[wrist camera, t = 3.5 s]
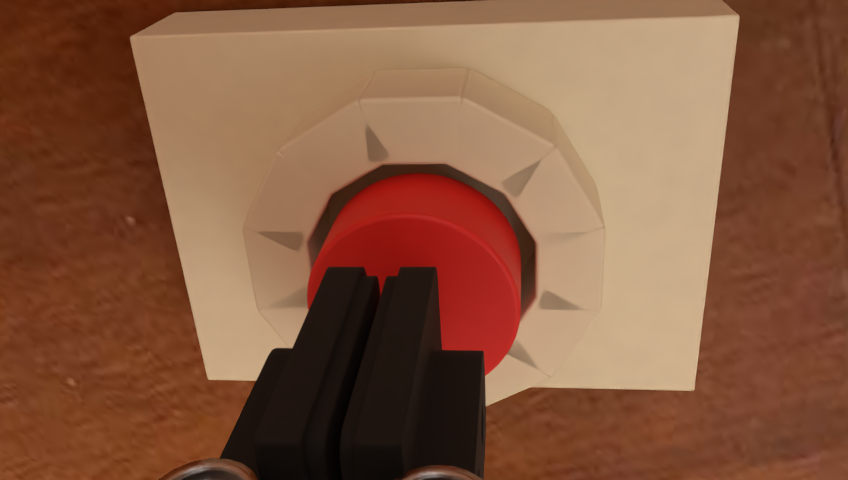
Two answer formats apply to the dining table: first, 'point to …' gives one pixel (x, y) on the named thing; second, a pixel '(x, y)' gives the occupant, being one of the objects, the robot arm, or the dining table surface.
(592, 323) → the switch block
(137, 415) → the dining table surface
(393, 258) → the light button
